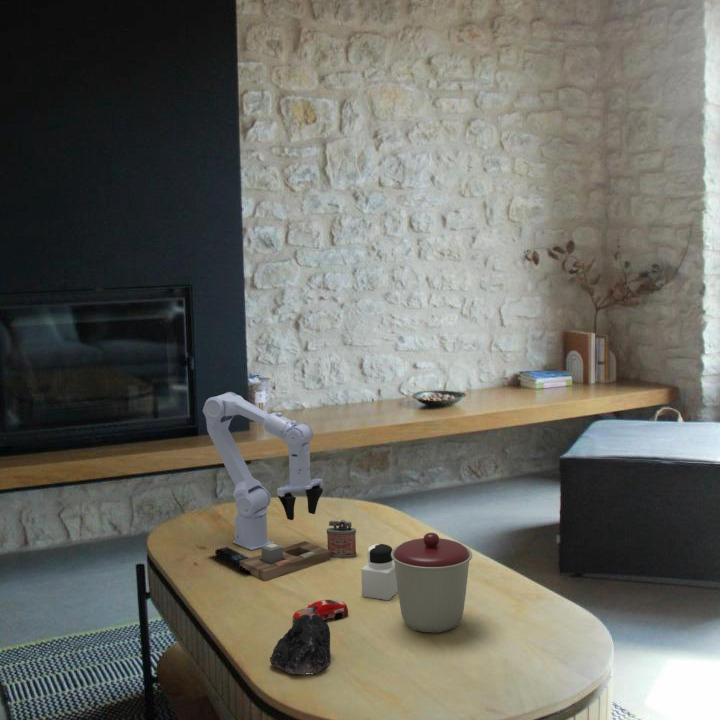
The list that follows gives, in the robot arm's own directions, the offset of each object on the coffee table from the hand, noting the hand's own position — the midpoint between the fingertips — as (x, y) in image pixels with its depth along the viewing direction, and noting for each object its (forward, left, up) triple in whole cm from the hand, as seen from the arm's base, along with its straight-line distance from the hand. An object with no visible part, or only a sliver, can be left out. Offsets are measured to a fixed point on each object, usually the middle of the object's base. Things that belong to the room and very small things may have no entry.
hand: (301, 516), depth 262 cm
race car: (+39, -26, -10) cm, 48 cm away
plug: (+5, -14, -10) cm, 18 cm away
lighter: (+11, +5, -10) cm, 16 cm away
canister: (+59, -10, -10) cm, 61 cm away
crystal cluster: (+53, -43, -10) cm, 69 cm away
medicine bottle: (+38, -6, -10) cm, 40 cm away
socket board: (+6, -10, -10) cm, 15 cm away
